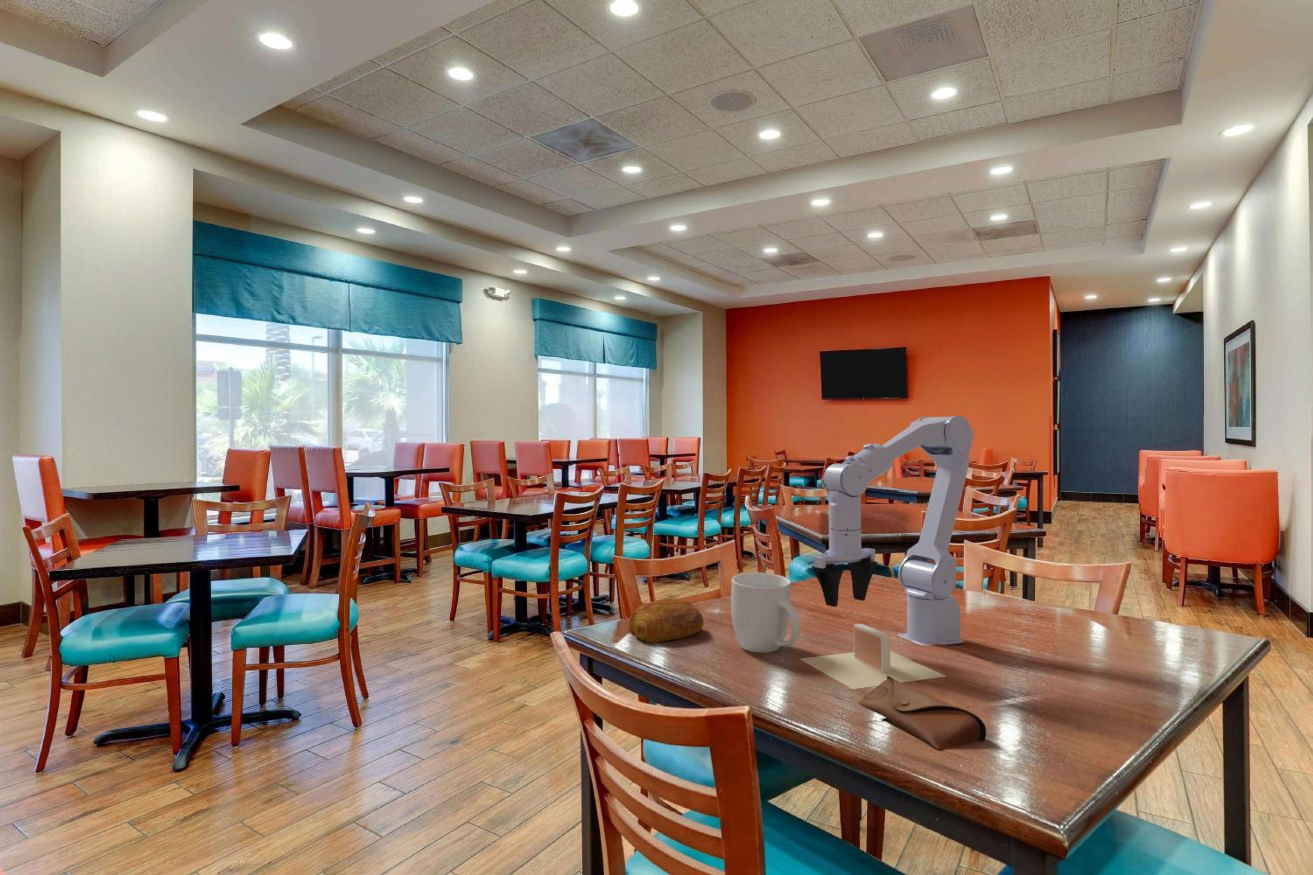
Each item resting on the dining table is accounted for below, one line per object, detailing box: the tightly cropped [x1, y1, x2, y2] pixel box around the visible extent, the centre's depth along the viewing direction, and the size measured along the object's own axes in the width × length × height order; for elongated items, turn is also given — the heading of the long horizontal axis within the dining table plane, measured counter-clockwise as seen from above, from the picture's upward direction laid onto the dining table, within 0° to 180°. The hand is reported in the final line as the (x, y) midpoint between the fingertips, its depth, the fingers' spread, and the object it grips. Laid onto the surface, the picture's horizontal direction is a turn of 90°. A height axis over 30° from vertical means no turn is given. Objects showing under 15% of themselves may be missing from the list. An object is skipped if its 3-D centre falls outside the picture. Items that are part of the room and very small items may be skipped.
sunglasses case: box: [857, 676, 987, 752], centre depth 100 cm, size 18×7×7 cm
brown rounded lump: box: [628, 597, 705, 644], centre depth 145 cm, size 14×16×8 cm
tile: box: [853, 623, 891, 672], centre depth 122 cm, size 2×8×6 cm, turn 19°
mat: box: [799, 650, 947, 690], centre depth 121 cm, size 18×16×1 cm
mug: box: [730, 572, 801, 654], centre depth 131 cm, size 15×11×13 cm
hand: (845, 602), depth 131 cm, fingers open, 7 cm apart
